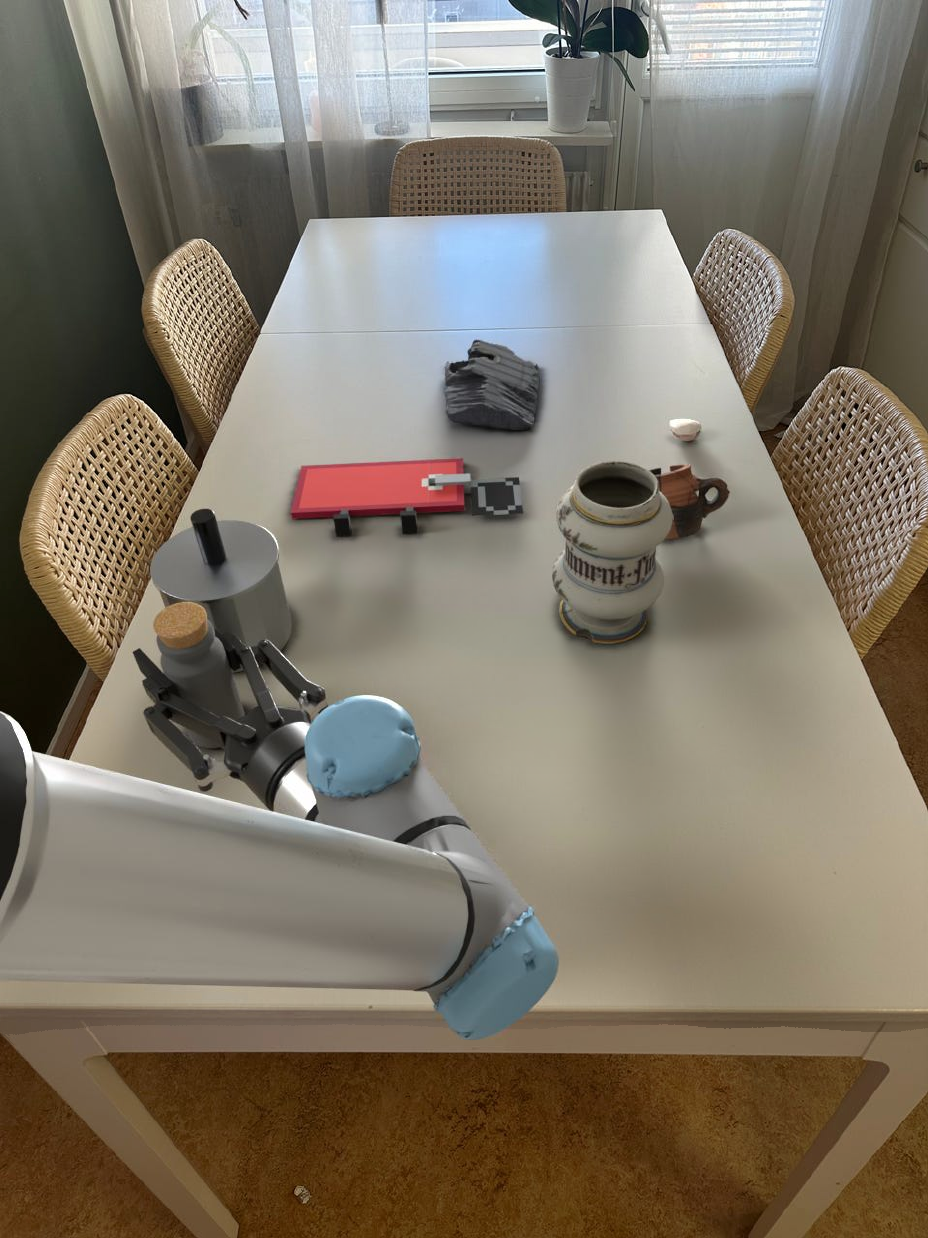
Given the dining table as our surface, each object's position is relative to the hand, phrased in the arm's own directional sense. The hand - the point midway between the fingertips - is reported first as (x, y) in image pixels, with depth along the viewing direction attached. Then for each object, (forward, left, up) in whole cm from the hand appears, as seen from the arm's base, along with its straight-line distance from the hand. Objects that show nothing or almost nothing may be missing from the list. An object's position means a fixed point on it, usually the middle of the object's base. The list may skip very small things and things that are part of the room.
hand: (170, 643), depth 85 cm
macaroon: (+54, +56, -9) cm, 78 cm away
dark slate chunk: (+25, +65, -9) cm, 70 cm away
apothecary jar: (+43, +17, -9) cm, 47 cm away
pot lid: (+2, +10, +2) cm, 11 cm away
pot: (+2, +10, -9) cm, 14 cm away
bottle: (+4, -3, -8) cm, 10 cm away
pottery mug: (+52, +36, -9) cm, 64 cm away
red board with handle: (+17, +37, -9) cm, 42 cm away
